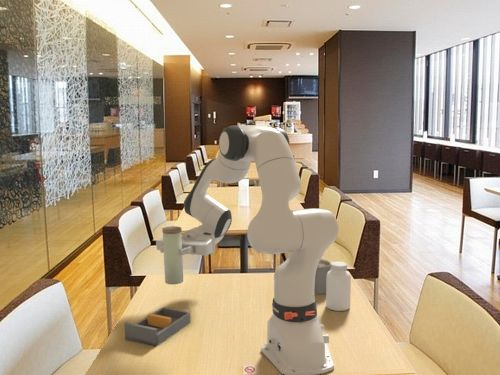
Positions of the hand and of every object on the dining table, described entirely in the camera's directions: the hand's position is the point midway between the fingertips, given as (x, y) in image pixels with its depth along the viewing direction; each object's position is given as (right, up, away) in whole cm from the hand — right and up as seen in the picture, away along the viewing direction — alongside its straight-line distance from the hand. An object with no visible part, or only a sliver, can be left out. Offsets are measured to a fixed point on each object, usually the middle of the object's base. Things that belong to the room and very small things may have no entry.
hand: (171, 251), depth 169 cm
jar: (+1, -10, +2) cm, 11 cm away
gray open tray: (-2, -23, -12) cm, 26 cm away
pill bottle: (+55, -19, +3) cm, 59 cm away
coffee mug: (+52, -17, +20) cm, 58 cm away
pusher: (-2, -21, -12) cm, 24 cm away
